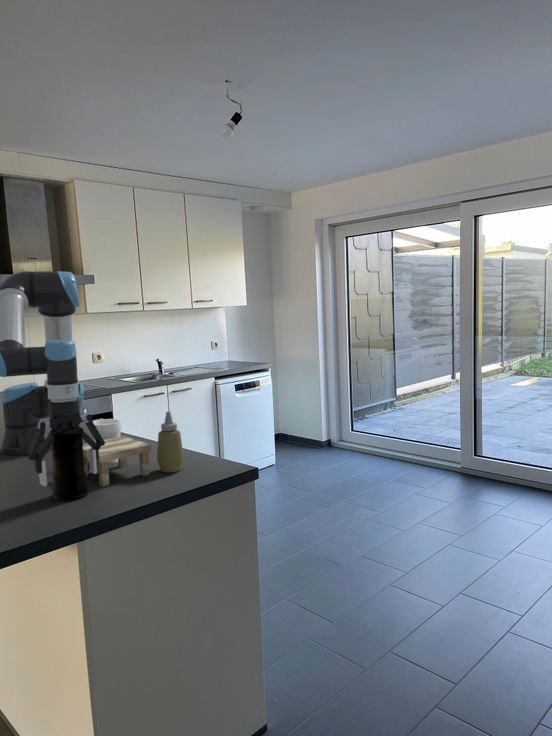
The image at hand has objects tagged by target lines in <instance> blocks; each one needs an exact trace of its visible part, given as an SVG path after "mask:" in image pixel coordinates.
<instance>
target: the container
mask: <svg viewBox="0 0 552 736" xmlns="http://www.w3.org/2000/svg"><path fill="white" fill-rule="evenodd" d="M79 427H80V426H79ZM80 428H81V429H73V430H68V431H62V432H59V433H55V432H54V431H51V430H49V432H48V434H49V435H50V436H53V435H54V438H56V439H55V440H54V443H53V444H52V446H51V447H50V449H51V454H52V455H51V459H52V471H53V477H52V480H53V486H52V491H53V492H52V493H51V494H52V499H53V500H54V501H56V502H72V501H76V500H80V499H81V500H82V499H83V498H85V497H86V496H87V495H88V493H89V489H88V488H87V487H88V484H87V483H86V476H85V473H84V459H83V444H84V443H83V439H82V436H83V435H82V433H83V431H84V429H83V427H80Z"/></svg>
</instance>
